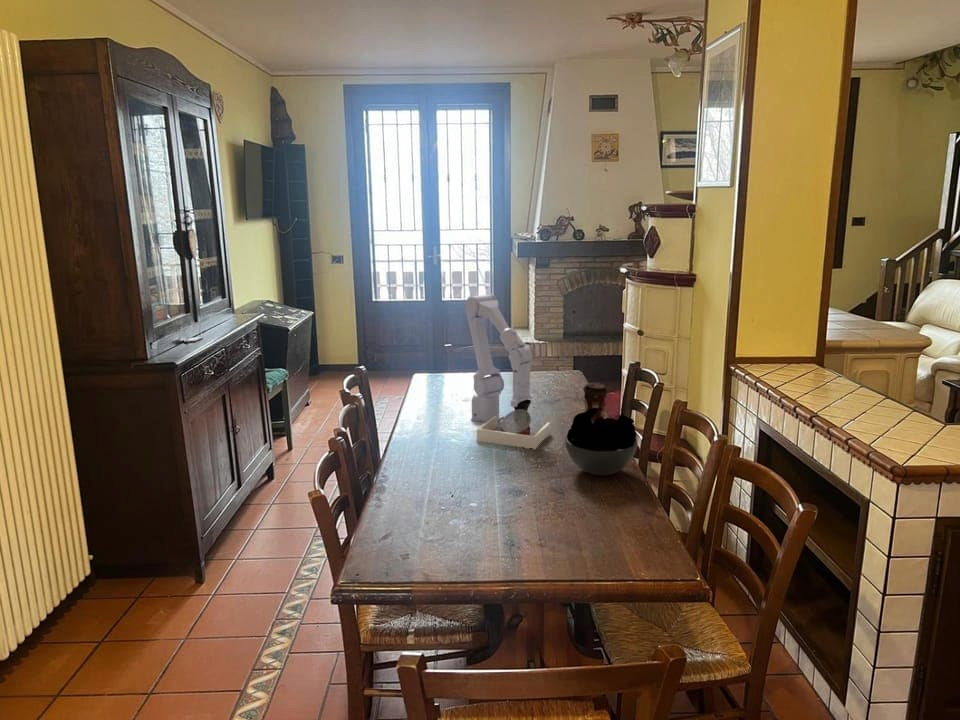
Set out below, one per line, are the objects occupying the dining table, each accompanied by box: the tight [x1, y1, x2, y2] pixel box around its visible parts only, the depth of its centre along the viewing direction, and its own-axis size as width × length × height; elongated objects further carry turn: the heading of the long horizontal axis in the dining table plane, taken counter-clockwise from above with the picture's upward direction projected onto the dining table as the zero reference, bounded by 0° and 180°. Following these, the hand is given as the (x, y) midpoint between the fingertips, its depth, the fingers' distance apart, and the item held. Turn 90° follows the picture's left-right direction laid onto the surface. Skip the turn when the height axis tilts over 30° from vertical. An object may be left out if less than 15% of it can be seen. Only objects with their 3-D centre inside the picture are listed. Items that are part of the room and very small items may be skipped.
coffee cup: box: [582, 382, 609, 423], centre depth 235 cm, size 9×8×13 cm
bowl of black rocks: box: [564, 408, 638, 476], centre depth 190 cm, size 20×20×19 cm
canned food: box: [499, 409, 532, 436], centre depth 221 cm, size 11×10×10 cm
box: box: [476, 416, 551, 450], centre depth 220 cm, size 20×15×4 cm
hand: (521, 421), depth 226 cm, fingers closed
